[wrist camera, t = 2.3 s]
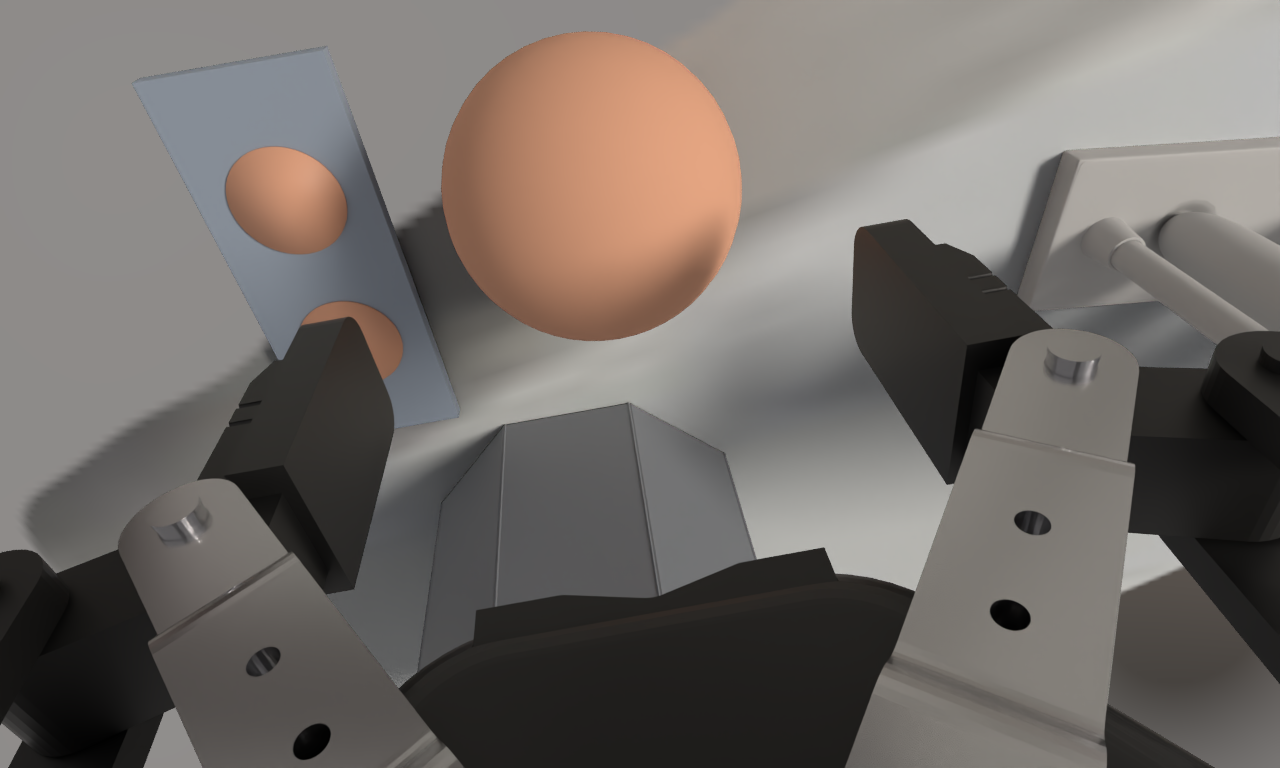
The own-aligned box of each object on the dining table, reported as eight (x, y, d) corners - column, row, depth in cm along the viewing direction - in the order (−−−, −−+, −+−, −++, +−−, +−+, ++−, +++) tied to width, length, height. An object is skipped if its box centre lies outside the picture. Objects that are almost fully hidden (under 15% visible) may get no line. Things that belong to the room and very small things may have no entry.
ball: (420, 29, 16) (369, 116, 11) (699, -19, 16) (770, 47, 11) (492, 277, 19) (478, 424, 15) (719, 237, 19) (779, 370, 15)
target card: (139, 77, 16) (130, 84, 15) (327, 45, 16) (322, 51, 15) (324, 432, 22) (320, 442, 21) (459, 408, 22) (458, 418, 21)
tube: (414, 440, 22) (355, 730, 15) (719, 386, 22) (805, 649, 15) (492, 623, 28) (477, 899, 21) (736, 580, 28) (805, 840, 21)
